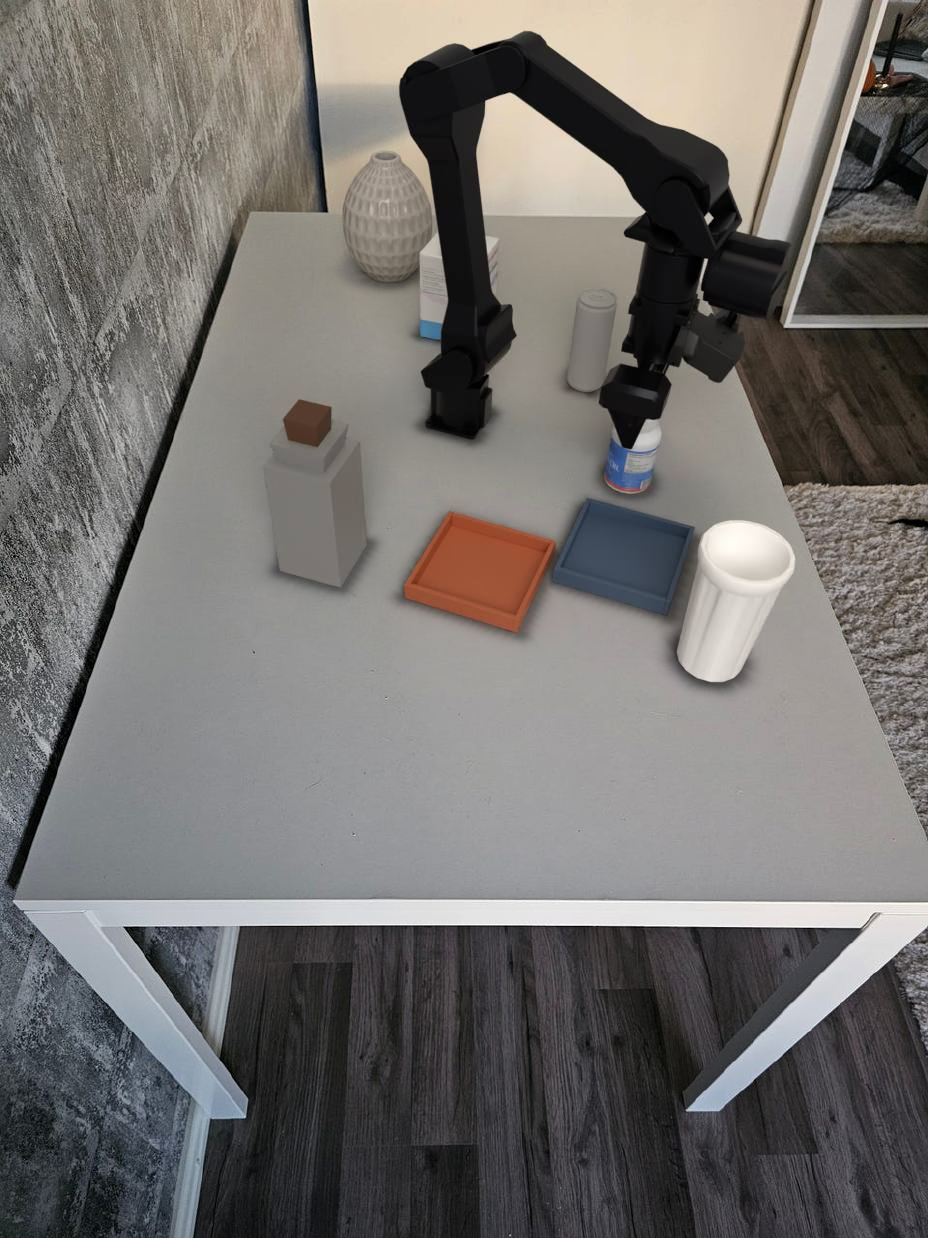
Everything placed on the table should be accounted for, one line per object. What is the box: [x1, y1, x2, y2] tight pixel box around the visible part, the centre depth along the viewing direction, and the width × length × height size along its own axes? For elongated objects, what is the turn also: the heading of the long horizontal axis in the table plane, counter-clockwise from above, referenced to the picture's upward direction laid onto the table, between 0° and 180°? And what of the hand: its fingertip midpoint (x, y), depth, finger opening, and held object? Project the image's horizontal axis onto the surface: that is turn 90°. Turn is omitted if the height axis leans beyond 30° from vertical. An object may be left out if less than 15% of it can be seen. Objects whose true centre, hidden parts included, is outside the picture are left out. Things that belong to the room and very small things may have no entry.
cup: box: [676, 519, 797, 683], centre depth 82 cm, size 8×8×14 cm
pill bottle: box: [603, 419, 663, 495], centre depth 101 cm, size 6×5×10 cm
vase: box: [341, 150, 433, 284], centre depth 129 cm, size 13×13×17 cm
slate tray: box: [551, 497, 696, 616], centre depth 95 cm, size 12×12×2 cm
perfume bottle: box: [262, 399, 368, 588], centre depth 88 cm, size 7×7×18 cm
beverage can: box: [566, 286, 618, 393], centre depth 113 cm, size 5×5×12 cm
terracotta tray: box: [403, 510, 557, 634], centre depth 93 cm, size 12×12×2 cm
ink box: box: [419, 231, 501, 341], centre depth 121 cm, size 9×8×13 cm
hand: (637, 423), depth 99 cm, fingers open, 9 cm apart
